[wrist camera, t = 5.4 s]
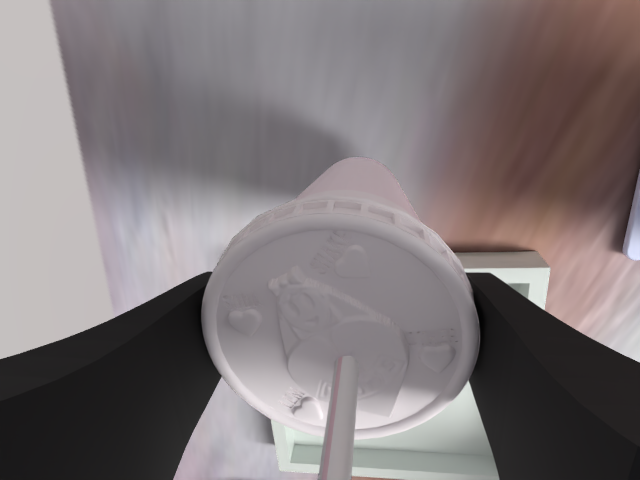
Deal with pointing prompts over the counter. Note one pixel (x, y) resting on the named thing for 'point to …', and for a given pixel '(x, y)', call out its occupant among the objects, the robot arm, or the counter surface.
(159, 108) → the counter surface
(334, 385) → the smoothie
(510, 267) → the tray
